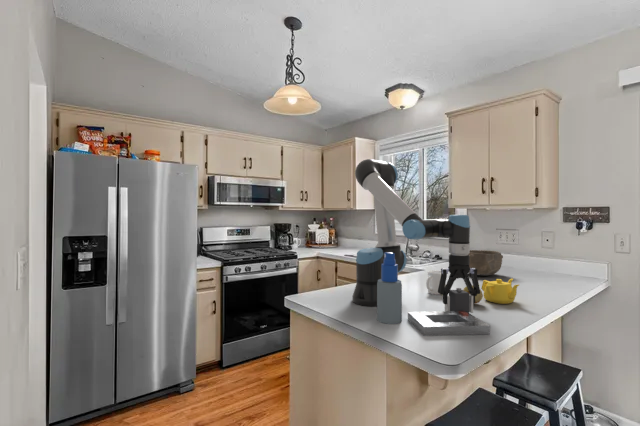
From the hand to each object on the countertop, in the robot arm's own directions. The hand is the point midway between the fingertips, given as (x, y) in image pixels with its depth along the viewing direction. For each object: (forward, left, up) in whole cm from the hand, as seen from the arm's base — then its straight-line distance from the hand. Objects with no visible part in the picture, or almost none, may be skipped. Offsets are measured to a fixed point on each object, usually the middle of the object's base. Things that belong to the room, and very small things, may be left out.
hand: (458, 311), depth 130 cm
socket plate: (-11, -13, -1) cm, 17 cm away
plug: (0, 0, -1) cm, 1 cm away
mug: (+4, +33, -1) cm, 33 cm away
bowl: (+53, +77, -1) cm, 93 cm away
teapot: (+28, +17, -1) cm, 33 cm away
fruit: (+13, +14, -1) cm, 19 cm away
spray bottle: (-29, -5, -1) cm, 29 cm away
